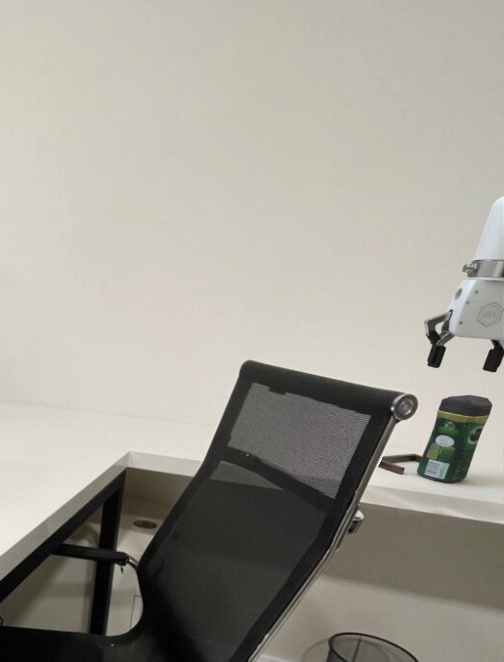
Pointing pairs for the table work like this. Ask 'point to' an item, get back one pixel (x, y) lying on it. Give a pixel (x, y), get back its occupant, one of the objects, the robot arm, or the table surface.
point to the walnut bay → (388, 460)
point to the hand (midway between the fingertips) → (460, 369)
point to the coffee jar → (454, 437)
